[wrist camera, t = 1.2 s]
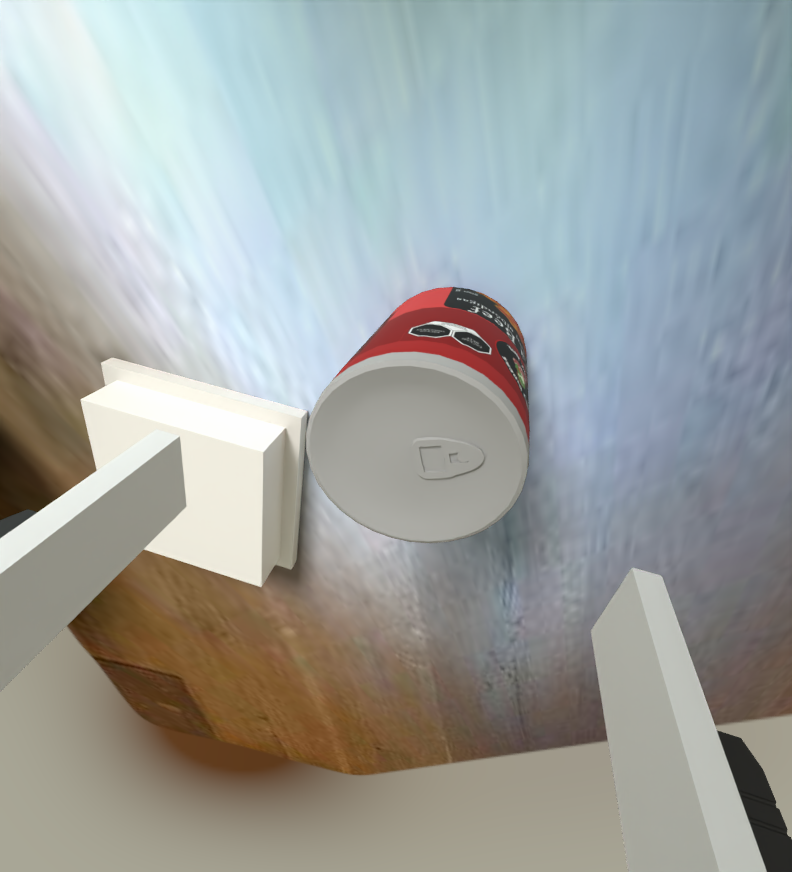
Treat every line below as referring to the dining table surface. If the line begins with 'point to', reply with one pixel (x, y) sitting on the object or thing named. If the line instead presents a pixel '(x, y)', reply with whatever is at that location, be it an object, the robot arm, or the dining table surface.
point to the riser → (211, 465)
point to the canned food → (427, 421)
